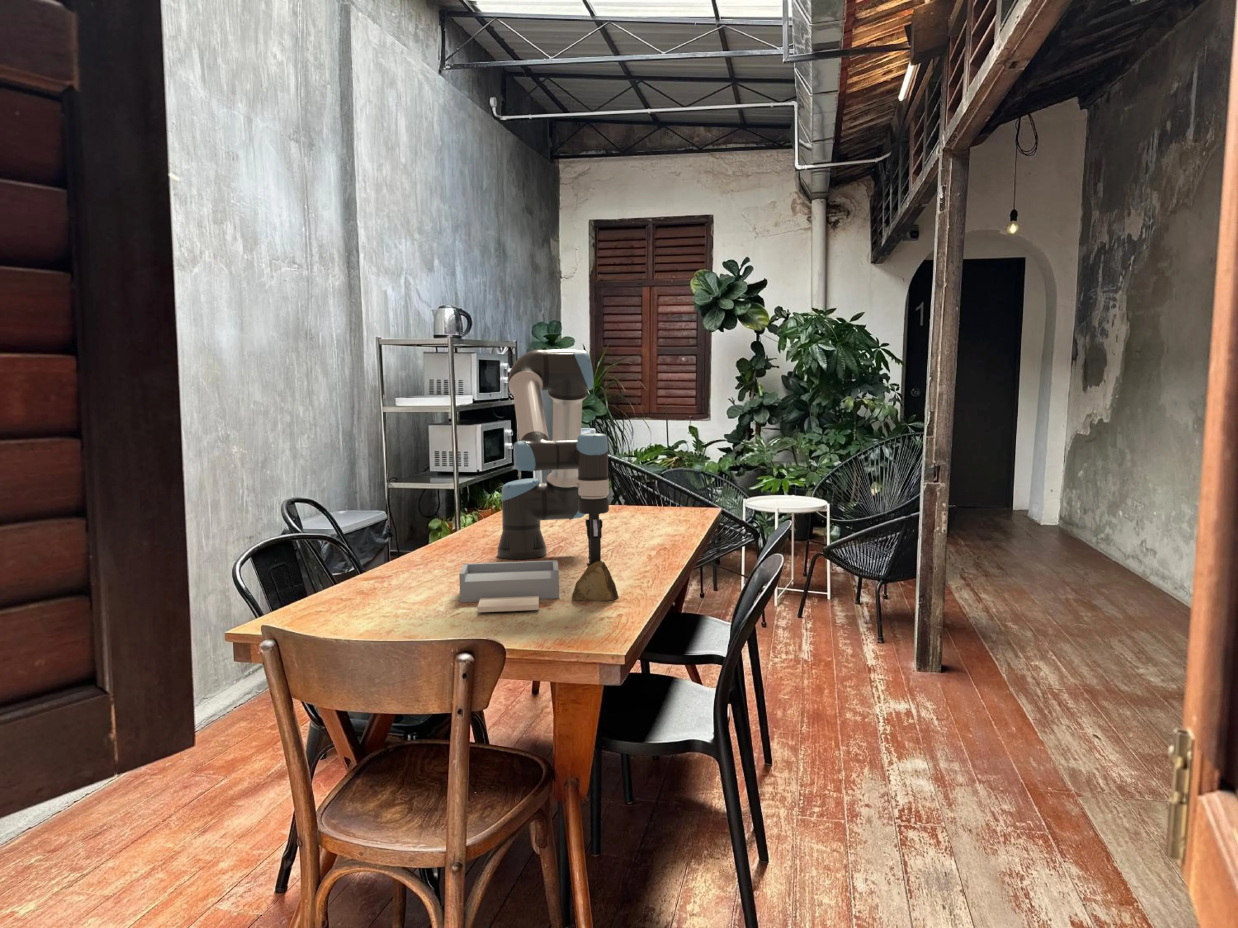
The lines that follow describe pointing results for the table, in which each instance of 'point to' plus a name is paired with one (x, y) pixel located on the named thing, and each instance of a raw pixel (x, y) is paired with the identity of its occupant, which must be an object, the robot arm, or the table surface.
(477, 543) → the table surface
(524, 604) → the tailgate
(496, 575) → the bed
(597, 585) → the rock
